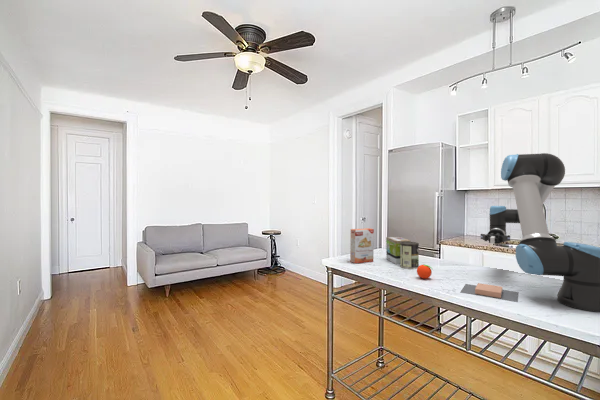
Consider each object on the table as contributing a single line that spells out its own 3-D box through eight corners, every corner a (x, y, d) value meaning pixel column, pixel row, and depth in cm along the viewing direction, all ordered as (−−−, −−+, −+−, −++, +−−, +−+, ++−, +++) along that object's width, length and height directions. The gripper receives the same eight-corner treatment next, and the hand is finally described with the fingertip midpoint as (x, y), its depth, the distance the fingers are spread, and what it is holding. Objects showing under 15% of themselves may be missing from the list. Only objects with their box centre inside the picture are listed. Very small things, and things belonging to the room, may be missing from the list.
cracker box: (355, 264, 184) (355, 229, 183) (349, 262, 189) (349, 228, 189) (374, 261, 189) (374, 228, 189) (368, 260, 195) (368, 227, 194)
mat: (518, 293, 128) (518, 292, 128) (517, 303, 116) (517, 302, 116) (465, 284, 140) (465, 283, 140) (459, 293, 128) (459, 292, 128)
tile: (502, 286, 128) (500, 292, 120) (502, 292, 128) (500, 298, 120) (478, 283, 133) (475, 288, 125) (478, 288, 133) (475, 294, 125)
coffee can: (417, 265, 179) (417, 241, 179) (420, 269, 169) (420, 244, 169) (399, 264, 181) (399, 241, 181) (401, 268, 171) (401, 244, 171)
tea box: (385, 259, 196) (385, 236, 196) (400, 258, 197) (400, 236, 197) (395, 264, 181) (395, 240, 181) (411, 264, 182) (411, 239, 182)
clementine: (435, 278, 151) (435, 264, 151) (431, 281, 146) (431, 267, 146) (419, 275, 156) (419, 262, 156) (414, 278, 151) (414, 264, 151)
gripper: (511, 244, 154) (509, 250, 135) (481, 241, 162) (475, 247, 143) (511, 229, 154) (509, 233, 135) (481, 228, 162) (475, 231, 143)
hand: (492, 240), depth 139 cm, fingers closed
